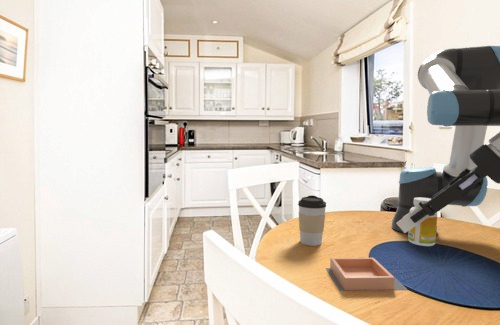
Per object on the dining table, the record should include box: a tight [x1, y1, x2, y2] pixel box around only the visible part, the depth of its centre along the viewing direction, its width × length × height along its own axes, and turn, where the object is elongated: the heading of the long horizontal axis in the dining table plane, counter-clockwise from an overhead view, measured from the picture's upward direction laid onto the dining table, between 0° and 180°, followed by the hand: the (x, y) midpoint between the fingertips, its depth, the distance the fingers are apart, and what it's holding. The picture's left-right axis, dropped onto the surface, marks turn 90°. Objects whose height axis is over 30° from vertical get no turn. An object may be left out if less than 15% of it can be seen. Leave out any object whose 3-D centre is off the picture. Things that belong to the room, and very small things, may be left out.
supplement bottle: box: [407, 197, 438, 247], centre depth 71 cm, size 5×5×10 cm
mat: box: [325, 267, 409, 292], centre depth 81 cm, size 16×12×1 cm
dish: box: [329, 257, 396, 291], centre depth 81 cm, size 12×12×3 cm
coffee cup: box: [297, 195, 327, 247], centre depth 107 cm, size 9×9×15 cm
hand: (404, 224), depth 74 cm, fingers closed on supplement bottle, 5 cm apart
